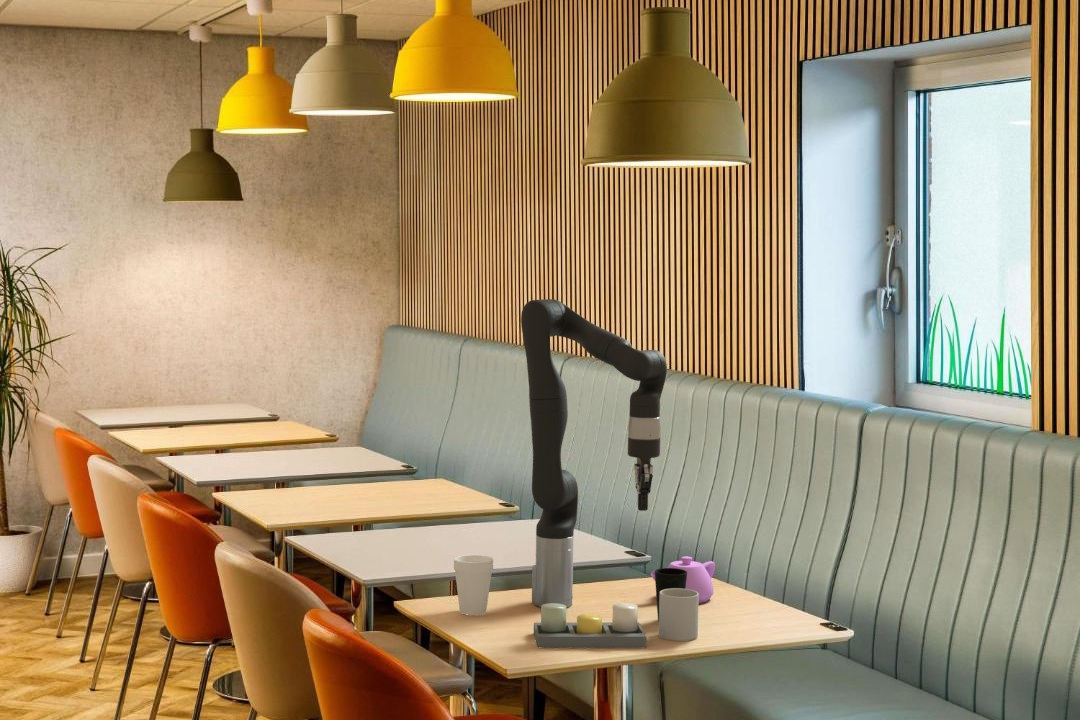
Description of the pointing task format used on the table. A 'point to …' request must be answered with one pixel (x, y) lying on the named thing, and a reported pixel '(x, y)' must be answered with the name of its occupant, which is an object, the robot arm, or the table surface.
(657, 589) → the cup
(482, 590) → the foam cup
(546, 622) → the sage button
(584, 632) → the mustard button
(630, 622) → the offwhite button
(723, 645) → the table surface
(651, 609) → the table surface
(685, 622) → the mug
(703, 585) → the teapot
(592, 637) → the grey compartment tray
